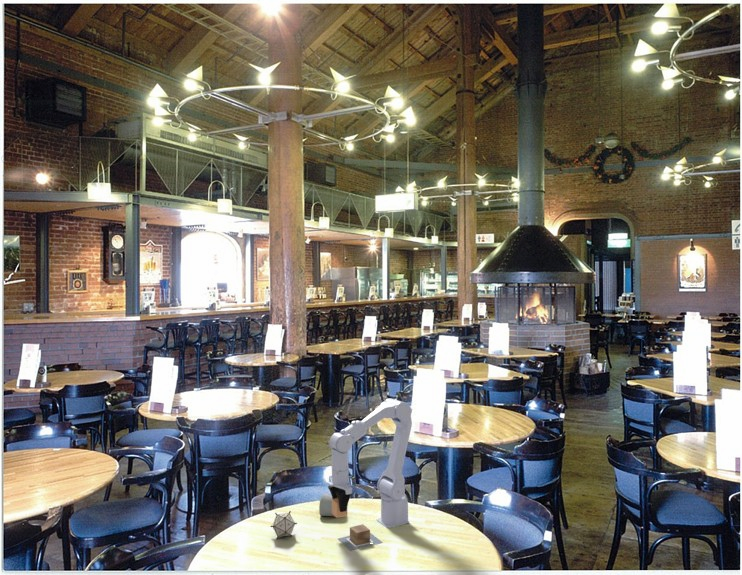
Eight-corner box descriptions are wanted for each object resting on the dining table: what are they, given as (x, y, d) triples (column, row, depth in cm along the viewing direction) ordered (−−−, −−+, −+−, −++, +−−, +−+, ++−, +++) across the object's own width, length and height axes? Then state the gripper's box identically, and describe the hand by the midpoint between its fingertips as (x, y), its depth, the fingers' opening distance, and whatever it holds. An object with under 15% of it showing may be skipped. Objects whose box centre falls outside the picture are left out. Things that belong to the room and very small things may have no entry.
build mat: (368, 532, 190) (368, 531, 190) (382, 543, 181) (382, 542, 181) (337, 539, 184) (337, 538, 184) (350, 551, 175) (350, 550, 175)
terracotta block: (342, 511, 189) (342, 496, 189) (347, 515, 186) (347, 500, 186) (331, 513, 187) (331, 499, 187) (336, 517, 184) (336, 502, 184)
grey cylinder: (340, 520, 200) (340, 498, 200) (318, 518, 201) (318, 497, 201) (345, 509, 210) (345, 489, 211) (325, 508, 212) (325, 488, 212)
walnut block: (362, 536, 186) (362, 524, 186) (370, 541, 182) (370, 529, 182) (349, 539, 183) (349, 527, 184) (356, 545, 179) (356, 532, 179)
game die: (286, 549, 185) (290, 533, 179) (264, 538, 186) (267, 522, 181) (299, 527, 192) (302, 511, 186) (277, 517, 194) (280, 500, 188)
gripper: (321, 464, 191) (321, 503, 191) (338, 477, 179) (338, 518, 178) (339, 461, 195) (339, 500, 194) (357, 473, 182) (357, 514, 182)
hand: (340, 508), depth 187 cm, fingers closed on terracotta block, 4 cm apart
